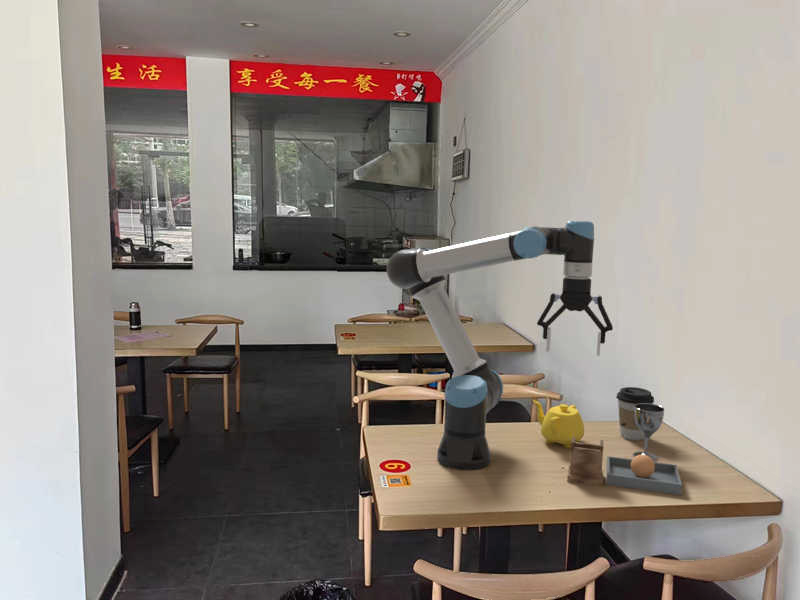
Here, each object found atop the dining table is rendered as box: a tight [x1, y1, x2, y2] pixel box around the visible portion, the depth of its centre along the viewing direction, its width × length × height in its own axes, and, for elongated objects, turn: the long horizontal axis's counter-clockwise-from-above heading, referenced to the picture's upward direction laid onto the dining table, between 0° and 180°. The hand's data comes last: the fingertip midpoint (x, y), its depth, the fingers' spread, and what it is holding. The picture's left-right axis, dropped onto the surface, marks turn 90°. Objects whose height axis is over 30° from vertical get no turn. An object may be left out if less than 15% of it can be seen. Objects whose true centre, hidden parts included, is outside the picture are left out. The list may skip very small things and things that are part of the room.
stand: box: [566, 437, 604, 487], centre depth 166 cm, size 9×7×10 cm
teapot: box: [532, 399, 585, 449], centre depth 193 cm, size 14×14×12 cm
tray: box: [605, 455, 683, 496], centre depth 167 cm, size 18×13×3 cm
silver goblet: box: [632, 403, 665, 462], centre depth 182 cm, size 8×8×15 cm
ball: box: [631, 455, 655, 478], centre depth 166 cm, size 6×6×6 cm
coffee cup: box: [615, 386, 655, 441], centre depth 198 cm, size 11×11×15 cm
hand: (572, 352), depth 174 cm, fingers open, 13 cm apart
